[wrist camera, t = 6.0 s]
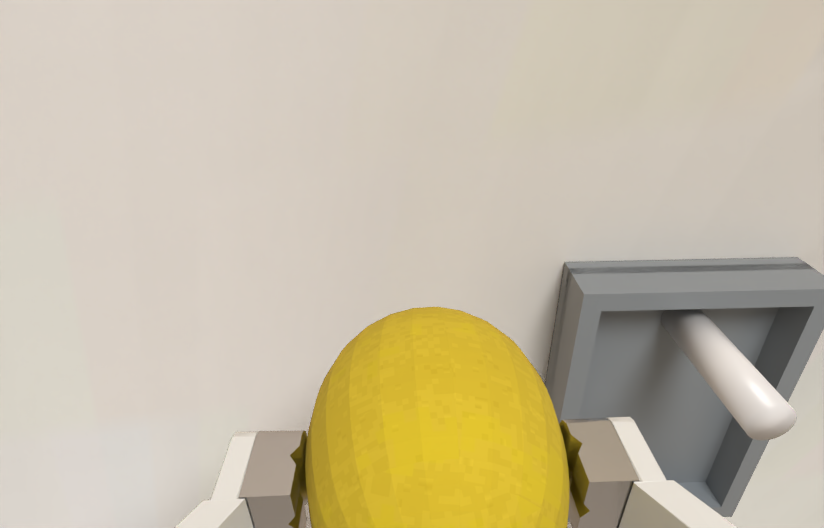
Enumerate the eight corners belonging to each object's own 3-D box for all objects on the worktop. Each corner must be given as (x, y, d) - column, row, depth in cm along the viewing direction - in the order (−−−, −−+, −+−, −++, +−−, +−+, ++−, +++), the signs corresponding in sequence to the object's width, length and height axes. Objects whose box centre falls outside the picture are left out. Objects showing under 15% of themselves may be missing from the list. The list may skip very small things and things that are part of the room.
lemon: (333, 404, 16) (289, 736, 9) (321, 249, 13) (244, 558, 6) (506, 402, 16) (594, 725, 9) (531, 250, 13) (682, 548, 6)
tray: (564, 262, 21) (632, 375, 15) (797, 257, 21) (956, 367, 15) (529, 480, 28) (566, 618, 22) (705, 475, 28) (791, 610, 22)
